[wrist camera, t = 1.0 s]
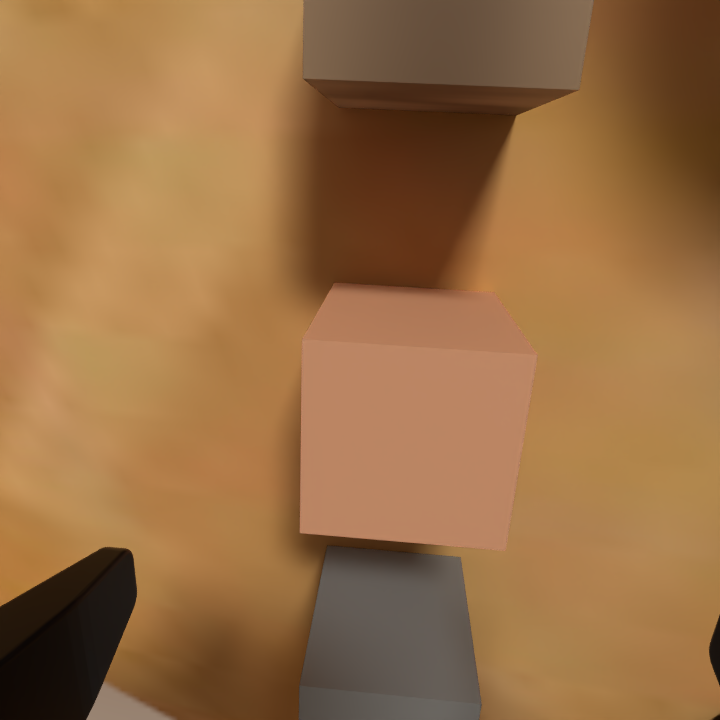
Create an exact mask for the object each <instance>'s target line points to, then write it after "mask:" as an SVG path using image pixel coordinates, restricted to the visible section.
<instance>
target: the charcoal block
mask: <svg viewBox="0 0 720 720" xmlns="http://www.w3.org/2000/svg"><path fill="white" fill-rule="evenodd" d="M481 705H482V704H481V697H480V690H479V683H478V676H477V669H476V662H475V655H474V648H473V641H472V634H471V627H470V620H469V612H468V605H467V598H466V591H465V584H464V577H463V570H462V563H461V557H453V556H442V555H430V554H419V553H408V552H396V551H385V550H373V549H362V548H351V547H339V546H328V545H327V549H326V554H325V559H324V564H323V569H322V574H321V579H320V584H319V589H318V594H317V599H316V604H315V609H314V615H313V620H312V625H311V630H310V635H309V640H308V645H307V650H306V655H305V660H304V665H303V670H302V675H301V680H300V685H299V720H479V717H480V711H481Z"/></svg>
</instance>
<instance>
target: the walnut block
mask: <svg viewBox="0 0 720 720" xmlns="http://www.w3.org/2000/svg"><path fill="white" fill-rule="evenodd" d="M593 2H594V0H304V16H303V79H304V80H305V81H307V82H308V83H309V84H310V85H312V86H313V87H314V88H315V89H317V90H318V91H319V92H320V93H321V94H323V95H324V96H325V97H326V98H328V99H329V100H330V101H331V102H333V103H334V104H335V105H336V106H338V107H339V108H362V109H385V110H407V111H430V112H453V113H476V114H498V115H518V114H521V113H523V112H526V111H528V110H531V109H533V108H536V107H538V106H541V105H543V104H546V103H548V102H551V101H553V100H555V99H558V98H560V97H563V96H565V95H568V94H570V93H573V92H575V91H578V90H579V88H580V82H581V76H582V70H583V64H584V57H585V51H586V45H587V39H588V33H589V27H590V21H591V15H592V8H593Z"/></svg>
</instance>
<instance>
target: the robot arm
mask: <svg viewBox="0 0 720 720" xmlns="http://www.w3.org/2000/svg"><path fill="white" fill-rule="evenodd" d="M136 597H137V586H136V577H135V568H134V559H133V554H132V552H131V551H130V550H128V549H126V548H115V547H104V548H101V549H99V550H98V551H96V552H94V553H92V554H91V555H89V556H87V557H85V558H84V559H82V560H80V561H78V562H77V563H75V564H73V565H72V566H70V567H68V568H66V569H65V570H63V571H61V572H59V573H58V574H56V575H54V576H52V577H51V578H49V579H47V580H45V581H44V582H42V583H40V584H39V585H37V586H35V587H33V588H32V589H30V590H28V591H26V592H25V593H23V594H21V595H19V596H18V597H16V598H14V599H13V600H11V601H9V602H7V603H6V604H4V605H2V606H0V720H86V719H87V717H88V715H89V713H90V711H91V709H92V707H93V704H94V703H95V700H96V698H97V696H98V693H99V691H100V689H101V686H102V684H103V682H104V679H105V677H106V674H107V672H108V669H109V667H110V665H111V662H112V660H113V657H114V655H115V652H116V650H117V647H118V645H119V643H120V640H121V638H122V635H123V633H124V630H125V628H126V625H127V623H128V621H129V618H130V616H131V613H132V611H133V608H134V606H135V602H136ZM709 655H710V660H711V664H712V667H713V669H714V672H715V675H716V677H717V680H718V683H719V685H720V615H719V618H718V621H717V624H716V627H715V630H714V633H713V636H712V639H711V642H710V647H709Z"/></svg>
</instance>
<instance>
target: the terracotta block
mask: <svg viewBox="0 0 720 720" xmlns="http://www.w3.org/2000/svg"><path fill="white" fill-rule="evenodd" d="M537 356H538V355H537V353H536V352H535V350H534V349H533V348H532V346H531V345H530V343H529V342H528V340H527V339H526V337H525V336H524V334H523V333H522V332H521V330H520V329H519V327H518V326H517V324H516V323H515V321H514V320H513V319H512V317H511V316H510V314H509V313H508V311H507V310H506V308H505V307H504V306H503V304H502V303H501V301H500V300H499V298H498V297H497V295H496V294H495V292H481V291H464V290H448V289H432V288H416V287H399V286H383V285H367V284H351V283H334V284H333V286H332V288H331V290H330V291H329V293H328V295H327V297H326V298H325V300H324V302H323V303H322V305H321V307H320V309H319V310H318V312H317V314H316V316H315V317H314V319H313V321H312V323H311V324H310V326H309V328H308V330H307V331H306V333H305V335H304V337H303V338H302V385H301V474H300V533H305V534H317V535H328V536H340V537H351V538H363V539H375V540H386V541H398V542H409V543H421V544H432V545H444V546H456V547H467V548H479V549H490V550H502V551H506V545H507V539H508V533H509V527H510V521H511V515H512V508H513V502H514V496H515V490H516V484H517V478H518V472H519V466H520V460H521V454H522V448H523V442H524V435H525V429H526V423H527V417H528V411H529V405H530V399H531V393H532V387H533V381H534V375H535V368H536V362H537Z"/></svg>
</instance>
